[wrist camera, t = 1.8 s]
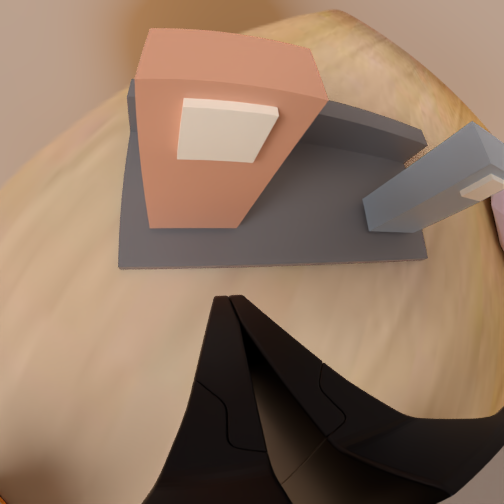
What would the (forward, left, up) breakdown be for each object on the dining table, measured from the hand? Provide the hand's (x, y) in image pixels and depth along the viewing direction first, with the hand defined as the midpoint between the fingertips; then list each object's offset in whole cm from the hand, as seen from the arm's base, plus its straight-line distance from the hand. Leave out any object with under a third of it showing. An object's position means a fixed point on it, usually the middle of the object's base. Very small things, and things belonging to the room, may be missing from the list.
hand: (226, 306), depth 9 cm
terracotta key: (+5, -5, -10) cm, 13 cm away
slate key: (-7, -18, -10) cm, 22 cm away
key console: (+1, -13, -12) cm, 18 cm away
